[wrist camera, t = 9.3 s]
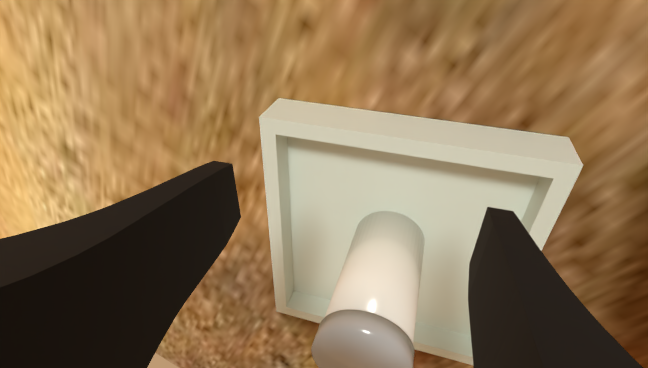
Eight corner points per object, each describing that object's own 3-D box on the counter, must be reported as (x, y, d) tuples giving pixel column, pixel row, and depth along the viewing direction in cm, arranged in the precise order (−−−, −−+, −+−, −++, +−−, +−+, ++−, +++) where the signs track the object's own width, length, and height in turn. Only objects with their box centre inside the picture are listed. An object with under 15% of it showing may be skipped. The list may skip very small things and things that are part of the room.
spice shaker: (421, 207, 20) (403, 335, 14) (430, 266, 22) (418, 401, 16) (347, 210, 22) (299, 325, 15) (361, 264, 23) (325, 387, 17)
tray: (568, 137, 17) (583, 165, 15) (481, 333, 25) (483, 368, 23) (278, 98, 20) (259, 117, 18) (288, 284, 28) (276, 311, 27)
